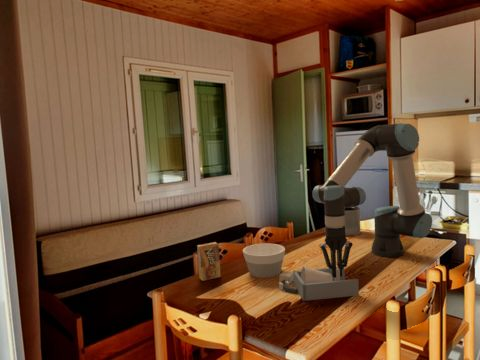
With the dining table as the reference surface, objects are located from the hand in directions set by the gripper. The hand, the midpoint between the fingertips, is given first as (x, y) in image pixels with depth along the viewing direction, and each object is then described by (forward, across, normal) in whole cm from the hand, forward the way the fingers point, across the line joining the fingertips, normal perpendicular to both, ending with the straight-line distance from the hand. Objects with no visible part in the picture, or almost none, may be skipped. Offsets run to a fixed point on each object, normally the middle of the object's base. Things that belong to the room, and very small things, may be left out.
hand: (337, 284), depth 152 cm
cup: (-1, +2, 0) cm, 3 cm away
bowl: (+2, +24, -26) cm, 36 cm away
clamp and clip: (+2, +18, -10) cm, 21 cm away
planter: (+2, -35, -80) cm, 87 cm away
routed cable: (+2, +19, -6) cm, 20 cm away
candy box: (+2, +49, -26) cm, 56 cm away
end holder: (+2, +4, 0) cm, 5 cm away
